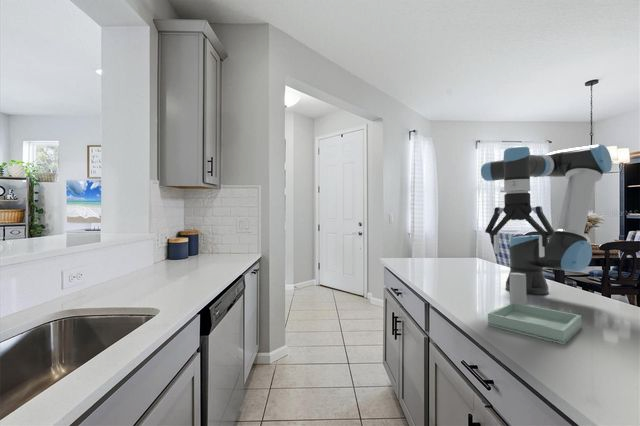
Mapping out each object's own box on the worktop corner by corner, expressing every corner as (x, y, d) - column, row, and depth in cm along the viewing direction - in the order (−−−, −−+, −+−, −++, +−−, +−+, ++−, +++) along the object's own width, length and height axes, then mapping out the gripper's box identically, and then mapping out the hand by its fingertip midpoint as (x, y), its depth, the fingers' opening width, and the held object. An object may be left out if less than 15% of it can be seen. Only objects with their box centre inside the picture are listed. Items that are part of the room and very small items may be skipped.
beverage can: (529, 311, 104) (528, 275, 104) (513, 310, 105) (512, 274, 105) (522, 307, 109) (522, 272, 109) (507, 306, 110) (507, 272, 110)
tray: (511, 312, 103) (511, 302, 103) (581, 327, 89) (581, 315, 89) (488, 325, 92) (487, 313, 92) (564, 344, 78) (563, 330, 78)
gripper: (474, 194, 114) (475, 252, 114) (558, 189, 95) (560, 259, 95) (483, 194, 118) (484, 250, 119) (565, 190, 99) (566, 257, 99)
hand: (518, 254), depth 107 cm, fingers open, 13 cm apart
